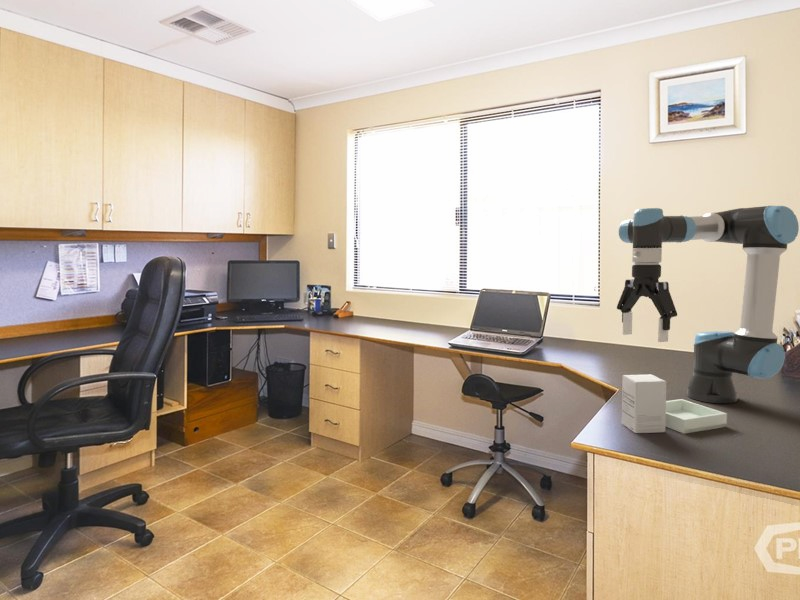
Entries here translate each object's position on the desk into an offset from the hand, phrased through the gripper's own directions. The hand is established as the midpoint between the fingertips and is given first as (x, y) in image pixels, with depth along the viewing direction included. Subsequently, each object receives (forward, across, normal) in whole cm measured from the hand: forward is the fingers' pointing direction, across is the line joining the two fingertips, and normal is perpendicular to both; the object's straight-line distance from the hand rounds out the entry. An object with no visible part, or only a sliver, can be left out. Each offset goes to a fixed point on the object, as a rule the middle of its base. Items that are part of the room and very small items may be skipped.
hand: (644, 337), depth 153 cm
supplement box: (+27, 0, 0) cm, 27 cm away
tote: (+26, 0, +15) cm, 31 cm away
